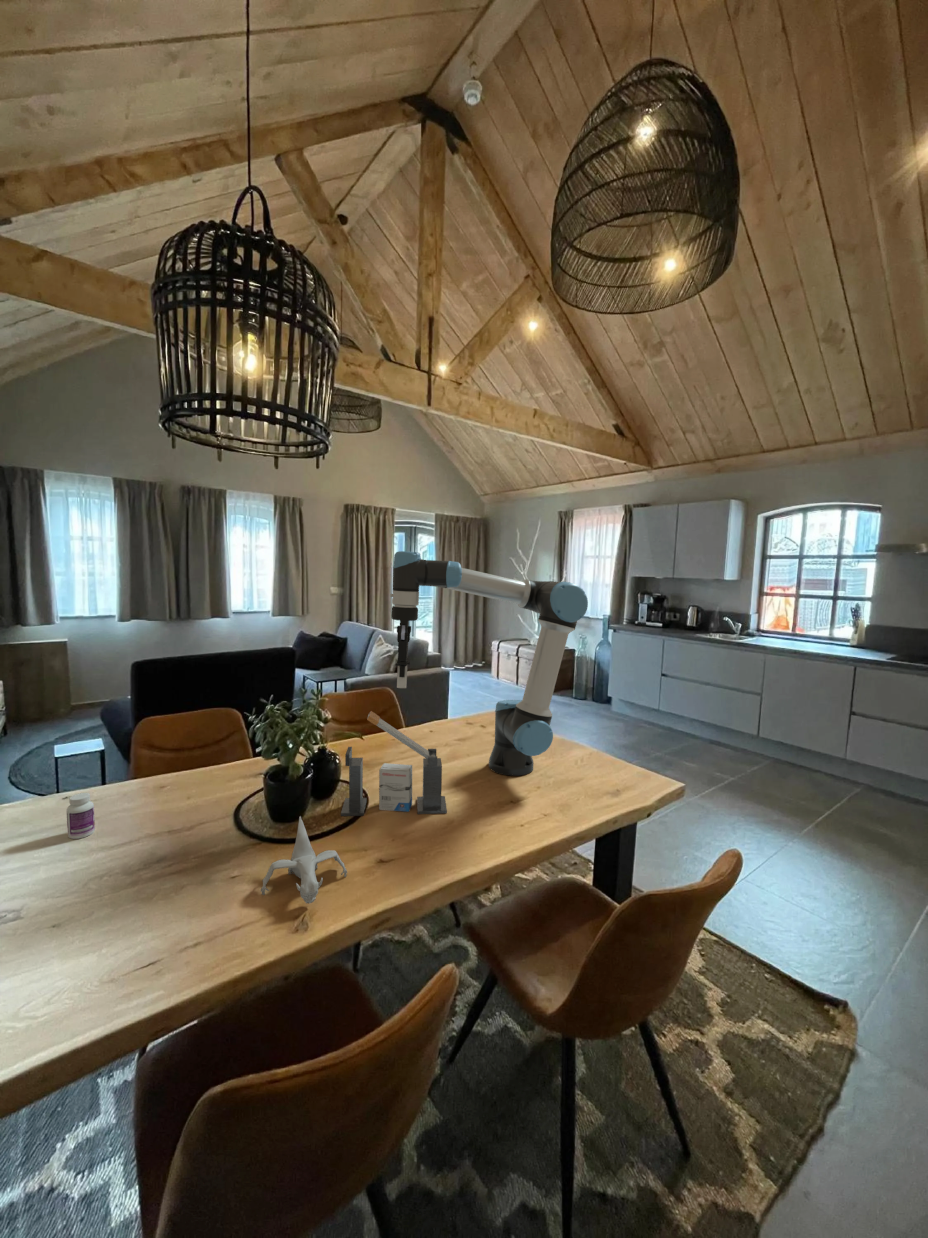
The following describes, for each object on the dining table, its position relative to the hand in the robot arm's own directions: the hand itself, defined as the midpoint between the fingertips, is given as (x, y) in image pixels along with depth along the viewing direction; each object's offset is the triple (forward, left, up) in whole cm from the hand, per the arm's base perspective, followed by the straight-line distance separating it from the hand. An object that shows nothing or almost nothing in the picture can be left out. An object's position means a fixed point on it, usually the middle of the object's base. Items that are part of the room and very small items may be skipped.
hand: (401, 687), depth 145 cm
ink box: (+1, +7, -33) cm, 34 cm away
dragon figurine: (+19, +40, -33) cm, 55 cm away
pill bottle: (+77, +17, -33) cm, 85 cm away
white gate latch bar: (0, +7, -13) cm, 15 cm away
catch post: (+12, +7, -32) cm, 35 cm away
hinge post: (-9, +7, -32) cm, 34 cm away
